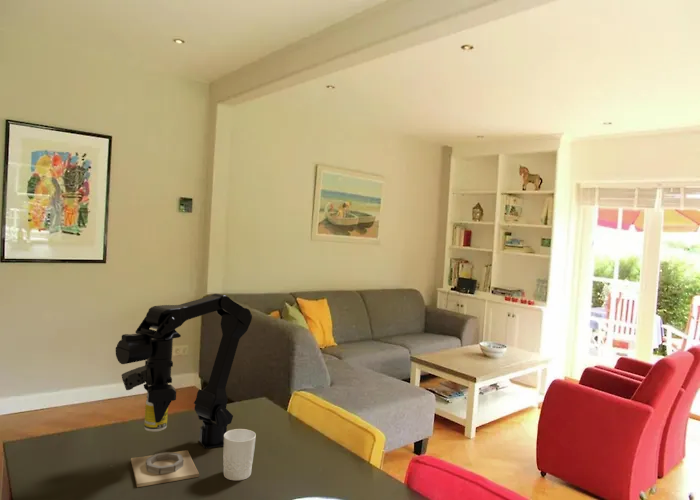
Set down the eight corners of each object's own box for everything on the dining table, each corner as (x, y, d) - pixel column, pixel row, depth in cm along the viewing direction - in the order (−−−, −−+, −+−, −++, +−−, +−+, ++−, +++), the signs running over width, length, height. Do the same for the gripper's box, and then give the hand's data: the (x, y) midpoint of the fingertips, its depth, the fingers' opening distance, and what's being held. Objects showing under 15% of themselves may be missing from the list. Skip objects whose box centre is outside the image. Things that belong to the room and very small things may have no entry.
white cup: (237, 485, 118) (240, 444, 118) (214, 475, 122) (216, 435, 122) (259, 473, 125) (262, 434, 125) (237, 464, 129) (239, 426, 129)
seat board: (187, 453, 133) (187, 444, 133) (198, 476, 121) (199, 467, 121) (130, 461, 126) (131, 452, 126) (137, 487, 114) (137, 477, 114)
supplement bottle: (158, 433, 121) (160, 394, 121) (139, 430, 123) (141, 391, 122) (171, 425, 127) (173, 387, 126) (153, 422, 128) (155, 385, 128)
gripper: (123, 349, 129) (120, 408, 129) (126, 369, 112) (123, 436, 113) (168, 347, 134) (165, 404, 134) (178, 366, 117) (174, 430, 118)
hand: (156, 418), depth 125 cm, fingers closed on supplement bottle, 5 cm apart
